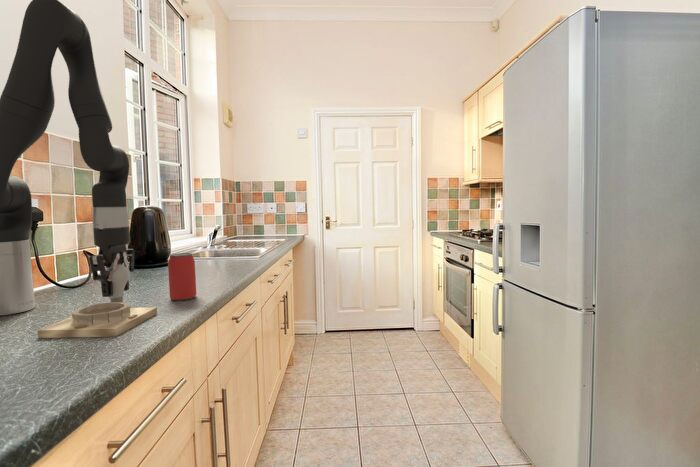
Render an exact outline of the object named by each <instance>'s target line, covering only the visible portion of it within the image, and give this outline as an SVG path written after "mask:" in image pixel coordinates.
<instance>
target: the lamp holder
mask: <svg viewBox="0 0 700 467" xmlns="http://www.w3.org/2000/svg"><path fill="white" fill-rule="evenodd" d="M157 314H158V308H157V307H156V306H154V307H131V304H130V303H129V302H125V301H123V302H111V301H110V302H103V303H102V302H101V303H95V304H91V305H87V306H83V307H80V308H78V309H75V310H73V311H72V313H71V316H70V317H68V318H65V319H63V320H60V321H58V322H55V323H53V324H50V325H47V326H45V327H42V328H40V329H38V330H37V338H38V339H46V338H48V339H49V338H50V339H51V338H53V339H54V338H55V339H57V338H60V339H61V338H94V337H95V338H97V337H98V338H102V337H103V338H104V337H105V338H106V337H108V338H110V337H111V338H112V337H113V338H115V337H118V336H119V335H121V334H124V333H125V332H127V331H128V330H130V329H133V328H134V327H136V326H137V325H140V324H141V323H143V322H145V321H147V320H149V319H150V318H152V317H154V316H157Z"/></svg>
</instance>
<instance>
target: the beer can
mask: <svg viewBox="0 0 700 467" xmlns="http://www.w3.org/2000/svg"><path fill="white" fill-rule="evenodd" d="M167 272H168V273H167V274H168V289H169V299H171V300H172V301H176V302H177V301H178V302H179V301H180V302H182V301H188V300H192V299H194V298H196V297H197V280H196V261H195V258H194V256H193V253H192V252H179V253H178V252H177V253H172V254H170V255H169V258H168V261H167Z"/></svg>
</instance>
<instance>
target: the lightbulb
mask: <svg viewBox="0 0 700 467" xmlns="http://www.w3.org/2000/svg"><path fill="white" fill-rule="evenodd" d="M105 268H110V267H106V266H105ZM106 275H108V272H106ZM128 279H130V275H129V271H128V269H127V268H126V267H125V266H124V265H122V264H118V265H117V267H116V271H115V272H113V276H112V280H111V281H112V283H113V296H111V297H109V298H110V302H124V295H125V294H124V293H125V291H124V288H125V285H126V283H127V281H128Z"/></svg>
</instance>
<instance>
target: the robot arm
mask: <svg viewBox="0 0 700 467" xmlns="http://www.w3.org/2000/svg"><path fill="white" fill-rule="evenodd" d="M57 50H59V52H60V53H61V56H62V58H63V60H64V61H65V64H66V67H67V70H68V77H69V79H68V80H69V81H68V87H67V88H68V91H67V92H68V94H67V95H68V101H69V106H70V110H71V112H72V114H73V117H74V118H73V119H74V121H75V122H76V125H77V128H78V140H79V142H78V143H79V150H80V154H81V157H82V159H83V161H84V163H85V164H86V165H87V166H88V168H89V169H90V170H93V171H95V172H98V173H99V177H98V178H99V179H98V182H97V183H95V184H93V186H92V188H91V199H92V202H91V203H92V215H91V216H92V217H91V218H92V231H93V243H94V246H95V247H98V248H99V249H98V254H96V255H90V256H89V258H88V259H89V266H90V269H91V270H90V271H91V274H92V279H93V281H98V282H100V286H101V295H102V297H104V298H110V297H111V296H113V283H112V281H111V280H112V276H113V272H115V271H116V267H117V265H118V264H122V265H124V266H125V267H126V268H127V269H128V271H129V276H130V275H131V273H132V272H134V271H135V253H136V252H135V249H134V248H127V246H126V245H129V244H130V243H131V231H130V230H131V228H130V217H129V213H128V212H129V211H128V208H127V207H128V206H127V204H128V203H127V193H126V188H127V185H128V179H129V172H130V161H129V156H128V154H127V152H126V151H125V149H123V148H121V146H117V145H115V144H112V143H111V140H110V134H109V133H111V132H112V130H113V123H112V120H111V117H110V115H109V111H108V108H107V105H106V102H105V99H104V97H103V94H102V91H101V86H100V83H99V77H98V75H97V70H96V64H95V58H94V54H93V46H92V40H91V35H90V30H89V27H88V25H87V23H86V22H85V21H84V19H83V18H81V16H80V15H78V13H76V12H74V10H72V9H71V8H70V7H68V6H67V5H65V4H64V2H61V1H60V0H31V1H30V2H29V4H28V5H27V6H26V9H25V13H24V17H23V20H22V24H21V29H20V33H19V39H18V43H17V48H16V51H15V52H16V53H15V55H14V59H13V62H12V65H11V68H10V70H9V74H8V76H7V80H6V83H5V85H4V88H3V89H2V92H1V95H0V316H8V315H13V314H17V313H23V312H28V311H30V310H33V309H35V308H36V303H35V290H34V280H33V278H34V277H33V269H32V266H33V265H32V256H31V245H30V232H31V230H32V227H33V206H32V205H33V204H32V203H33V201H32V193H31V190H30V187H29V185H28V184H27V183H26V181H25V180H24V179H22V178H21V177H19V176H16V175H11V174H12V171H13V169H14V167H15V164H16V162H17V161H18V160H19V158H20V157H21V156H22V155H23V154H24V153H25V152H26V151H27V150H29V148H30V147H31V146H33V145H34V144H35V143H36V142H37V141H38V140H39V139H40V138H41V137H42V136H43V135H44V133H45V132H46V131H47V128H48V125H49V123H50V121H51V119H52V115H53V112H54V110H55V105H56V104H55V101H56V98H55V91H54V83H53V76H52V75H53V74H52V67H53V62H54V58H55V56H56V52H57ZM105 267H110V268H105ZM98 272H99V273H98ZM106 272H108V275H106ZM129 279H130V278H129ZM129 279H128V281H127V283H126V285H125V288H124V292H125V291H128V290H130V281H129Z"/></svg>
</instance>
